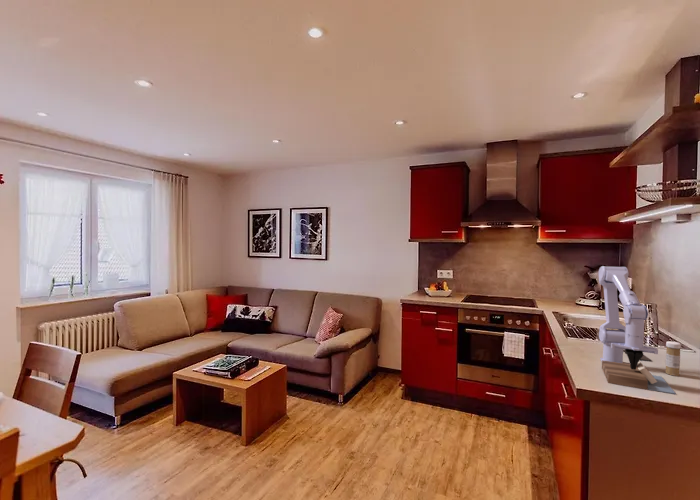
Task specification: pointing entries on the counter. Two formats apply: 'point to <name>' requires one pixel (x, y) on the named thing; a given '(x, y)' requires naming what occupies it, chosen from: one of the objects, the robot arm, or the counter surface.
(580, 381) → the counter surface
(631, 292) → the robot arm
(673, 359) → the sprinkles bottle
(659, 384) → the mat
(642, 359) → the smartphone
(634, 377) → the deck
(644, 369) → the cream block
